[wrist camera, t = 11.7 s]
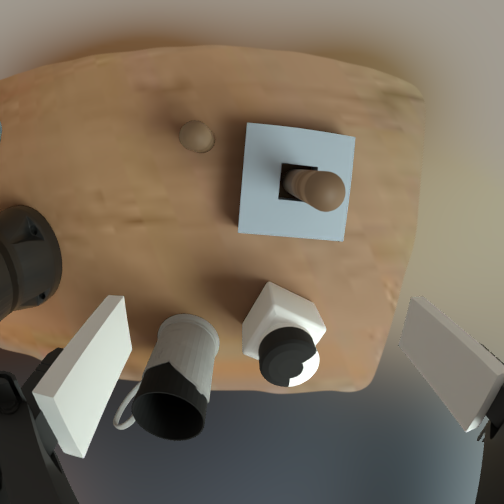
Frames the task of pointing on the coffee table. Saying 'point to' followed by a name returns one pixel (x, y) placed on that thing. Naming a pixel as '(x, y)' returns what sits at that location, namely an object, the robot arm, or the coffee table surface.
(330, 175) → the long pin
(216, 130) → the coffee table surface
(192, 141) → the short pin
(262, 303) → the medicine bottle
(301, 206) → the collar plate
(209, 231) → the coffee table surface
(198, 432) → the grey black mug
